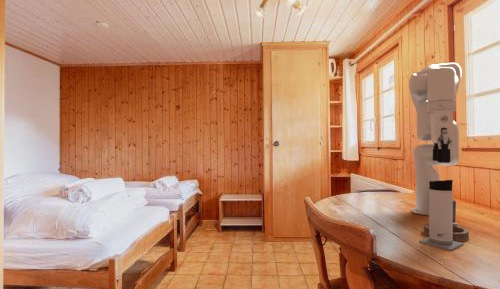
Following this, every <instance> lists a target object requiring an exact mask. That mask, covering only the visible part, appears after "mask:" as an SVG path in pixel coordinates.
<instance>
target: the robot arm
mask: <svg viewBox="0 0 500 289" xmlns="http://www.w3.org/2000/svg"><path fill="white" fill-rule="evenodd" d="M408 80H409V81H408V89H409V90H408V91H409V93H410V97H411V98H410V99H411V100H412V104H413V106H414V108H415V111H416V136H417V139H418V140H419V141H422V142H432V143H426V144H425V143H423V144H419V145H416V146H415V147H414V149H413V154H412V155H413V160H414V161H413V162H414V167H415V168H414V169H415V207H412V208H411V212H412V213H414V214H417V215H423V216H429V191H430V190H429V187H430V186H429V181H441V176H440V173H439V172H438V171H437V169H435V168H434V166H456V165H457V164H458V163H459V161H460V133H459V132H460V131H459V130H460V129H459V126H458V123H457V122H456V121H455V120H454V114H453V113H454V112H456V108H457V107H456V97H457V93H458V91H459V88H460V87H459V86H460V84H461V80H462V67H461V66H460V65H459V63H456V62H448V63H439V64H431V65H427V66H425V67H423V68H422V69H421V70H420V71H417V72H414V73H412V74H411V75H410V77H409V79H408Z"/></svg>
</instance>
